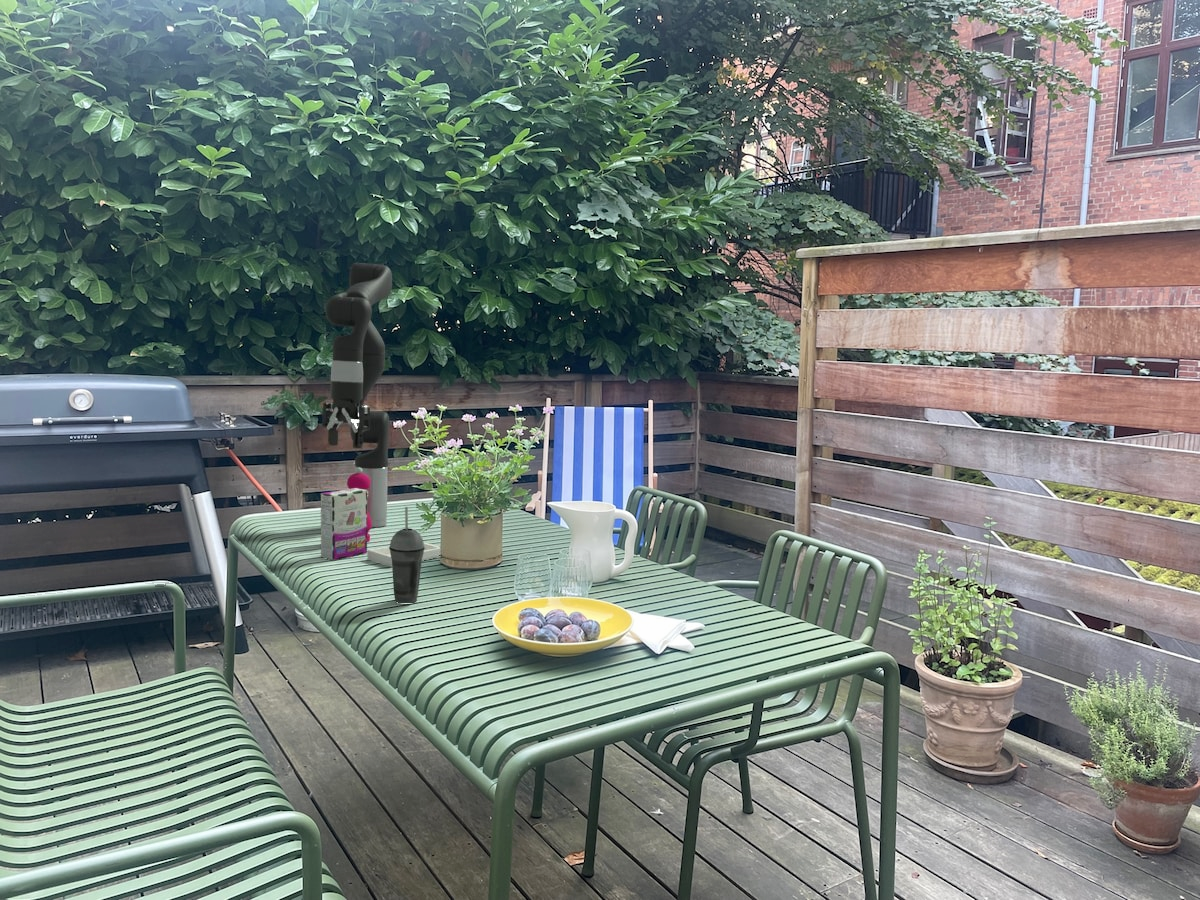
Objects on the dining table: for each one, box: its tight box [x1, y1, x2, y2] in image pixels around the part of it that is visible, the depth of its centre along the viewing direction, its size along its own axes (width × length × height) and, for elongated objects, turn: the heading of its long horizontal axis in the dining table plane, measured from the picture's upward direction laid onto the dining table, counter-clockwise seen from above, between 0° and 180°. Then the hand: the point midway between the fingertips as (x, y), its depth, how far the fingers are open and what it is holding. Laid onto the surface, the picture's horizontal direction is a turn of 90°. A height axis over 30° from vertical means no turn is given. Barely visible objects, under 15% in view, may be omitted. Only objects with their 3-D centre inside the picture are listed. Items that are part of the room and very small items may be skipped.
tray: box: [366, 542, 441, 568], centre depth 221 cm, size 10×16×2 cm, turn 141°
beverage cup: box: [389, 506, 425, 604], centre depth 184 cm, size 7×7×20 cm
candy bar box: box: [320, 488, 368, 561], centre depth 220 cm, size 11×5×16 cm, turn 148°
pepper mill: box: [346, 467, 373, 543], centre depth 236 cm, size 7×7×20 cm
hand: (345, 446), depth 215 cm, fingers open, 8 cm apart
